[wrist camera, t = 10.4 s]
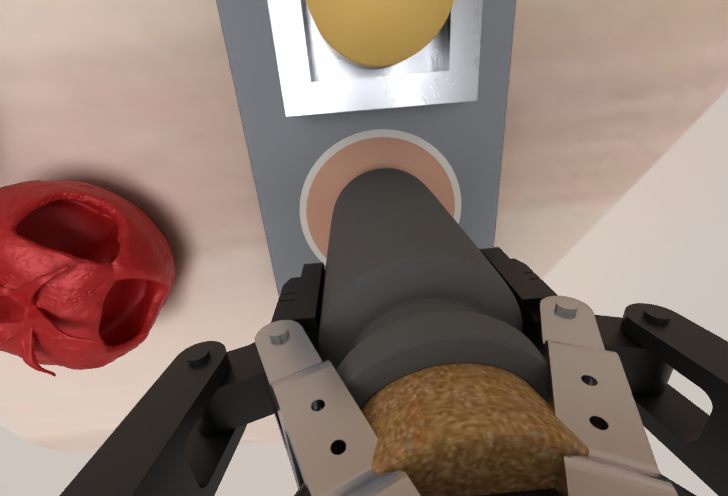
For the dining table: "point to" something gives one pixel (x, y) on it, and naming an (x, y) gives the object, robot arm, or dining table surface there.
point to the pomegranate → (77, 274)
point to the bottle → (434, 346)
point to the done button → (378, 28)
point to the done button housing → (374, 86)
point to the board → (364, 141)
